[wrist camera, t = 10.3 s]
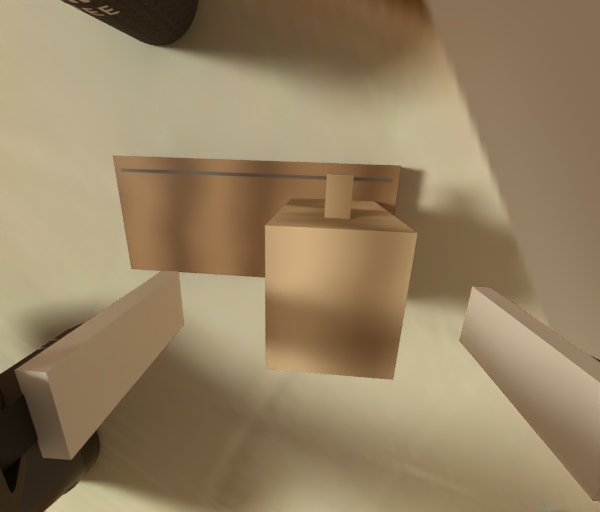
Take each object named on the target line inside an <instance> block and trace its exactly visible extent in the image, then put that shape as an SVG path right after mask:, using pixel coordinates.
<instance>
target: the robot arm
mask: <svg viewBox="0 0 600 512" xmlns="http://www.w3.org/2000/svg"><path fill="white" fill-rule="evenodd" d="M183 325H184V319H183V309H182V300H181V290H180V280H179V271H161V272H159V273H158V274H156V275H155V276H153V277H152V278H150V279H149V280H148V281H146V282H145V283H143V284H142V285H140V286H139V287H137V288H136V289H134V290H133V291H131V292H130V293H128V294H127V295H125V296H124V297H122V298H121V299H119V300H118V301H116V302H115V303H113V304H112V305H110V306H109V307H107V308H106V309H105V310H103V311H102V312H100V313H99V314H97V315H96V316H94V317H93V318H91V319H90V320H88V321H87V322H85V323H82V324H80V325H78V326H75V327H73V328H71V329H69V330H67V331H65V332H64V333H62V334H61V335H59V336H58V337H56V338H55V339H54V340H53V341H50V342H49V343H47V344H45V345H44V346H42V347H41V349H38V350H36V351H35V352H33V353H32V354H30V355H29V356H27V357H26V358H24V359H23V360H21V361H20V362H18V363H17V364H15V365H14V366H12V367H10V368H9V369H7V370H6V371H4V372H3V373H1V374H0V512H44V511H45V510H46V509H47V508H48V507H50V506H51V505H52V504H53V503H54V502H55V501H56V500H57V499H59V498H60V497H61V496H62V495H63V494H65V493H67V492H68V491H70V490H71V489H72V488H74V487H75V486H76V485H77V484H78V483H79V482H80V481H81V480H82V478H83V477H84V476H85V474H86V473H87V472H88V471H89V469H90V468H91V467H92V465H93V464H94V463H95V461H96V459H97V456H98V452H99V442H98V438H97V434H96V432H95V431H96V430H97V428H98V427H99V426H100V425H101V424H102V422H103V421H104V420H105V419H106V418H107V416H108V415H109V414H110V413H111V412H112V410H113V409H114V408H115V407H116V406H117V404H118V403H119V402H120V401H121V400H122V398H123V397H124V396H125V395H126V394H127V392H128V391H129V390H130V389H131V388H132V386H133V385H134V384H135V383H136V382H137V380H138V379H139V378H140V377H141V376H142V374H143V373H144V372H145V371H146V370H147V368H148V367H149V366H150V365H151V364H152V362H153V361H154V360H155V359H156V358H157V356H158V355H159V354H160V353H161V352H162V350H163V349H164V348H165V347H166V346H167V344H168V343H169V342H170V341H171V340H172V338H173V337H174V336H175V335H176V334H177V332H178V331H179V330H180V329H181V328H182V326H183ZM459 341H460V342H461V343H462V344H463V346H464V347H465V348H466V349H467V350H468V352H469V353H470V354H471V355H472V356H473V357H474V359H475V360H476V361H477V362H478V363H479V365H480V366H481V367H482V368H483V369H484V371H485V372H486V373H487V374H488V375H489V377H490V378H491V379H492V380H493V381H494V383H495V384H496V385H497V386H498V387H499V389H500V390H501V391H502V392H503V393H504V395H505V396H506V397H507V398H508V399H509V401H510V402H511V403H512V404H513V405H514V407H515V408H516V409H517V410H518V411H519V413H520V414H521V415H522V416H523V417H524V419H525V420H526V421H527V422H528V423H529V425H530V426H531V427H532V428H533V429H534V431H535V432H536V433H537V434H538V435H539V436H540V438H541V439H542V440H543V441H544V442H545V444H546V445H547V446H548V447H549V448H550V450H551V451H552V452H553V453H554V454H555V456H556V457H557V458H558V459H559V460H560V462H561V463H562V464H563V465H564V466H565V468H566V469H567V470H568V471H569V472H570V474H571V475H572V476H573V477H574V478H575V480H576V481H577V482H578V483H579V484H580V486H581V487H582V488H583V489H584V490H585V492H586V493H587V494H588V495H589V496H590V498H591V499H592V500H593V501H600V360H598V359H596V358H594V357H592V356H590V355H589V354H587V353H586V352H584V351H583V350H581V349H580V348H578V347H577V346H575V345H574V344H572V343H571V342H569V341H568V340H567V339H565V338H564V337H562V336H561V335H559V334H558V333H556V332H555V331H553V330H552V329H550V328H549V327H548V326H546V325H545V324H543V323H542V322H540V321H539V320H537V319H536V318H534V317H533V316H531V315H530V314H528V313H527V312H526V311H524V310H523V309H521V308H520V307H518V306H517V305H515V304H514V303H512V302H511V301H509V300H508V299H506V298H505V297H504V296H502V295H501V294H499V293H498V292H496V291H495V290H493V289H492V288H490V287H473V286H472V290H471V294H470V298H469V302H468V307H467V311H466V315H465V319H464V323H463V328H462V332H461V336H460V340H459Z"/></svg>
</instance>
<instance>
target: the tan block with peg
mask: <svg viewBox="0 0 600 512" xmlns="http://www.w3.org/2000/svg"><path fill="white" fill-rule="evenodd" d="M353 179H354V175H352V174H333V173H327V182H326V198H325V199H309V198H291V199H290V200H289V201H288V202H287V203H286V204H285V205H284V206H283V207H282V208H281V209H280V210H279V211H278V213H277V214H276V215H275V216H274V217H273V218H272V219H271V220H270V221H269V222H268V223H267V224H266V225H265V319H266V369H273V370H285V371H297V372H309V373H321V374H332V375H344V376H356V377H368V378H380V379H392V380H393V377H394V371H395V365H396V359H397V353H398V347H399V341H400V335H401V329H402V323H403V317H404V312H405V306H406V300H407V294H408V288H409V282H410V276H411V270H412V264H413V258H414V252H415V246H416V240H417V234H418V233H417V232H416V231H414V230H413V229H411V228H410V227H409V226H407V225H406V224H405V223H403V222H402V221H400V220H399V219H398V218H396V217H395V216H394V215H392V214H391V213H389V212H388V211H387V210H385V209H384V208H383V207H381V206H380V205H378V204H377V203H376V202H374V201H355V200H352V190H353Z"/></svg>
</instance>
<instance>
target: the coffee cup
mask: <svg viewBox="0 0 600 512" xmlns="http://www.w3.org/2000/svg"><path fill="white" fill-rule="evenodd" d="M61 1H63V2H65V3H67V4H69V5H71V6H73V7H75V8H77V9H79V10H81V11H83V12H85V13H87V14H89V15H90V16H92V17H94V18H96V19H98V20H100V21H102V22H104V23H106V24H108V25H110V26H112V27H114V28H116V29H118V30H120V31H122V32H124V33H126V34H128V35H129V36H131V37H133V38H135V39H137V40H139V41H141V42H144V43H147V44H151V45H165V44H169V43H171V42H174V41H175V40H177V39H178V38H180V37H181V36H182V35H183V34H184V33H185V32H186V31H187V29H188V28H189V26H190V25H191V23H192V21H193V18H194V16H195V12H196V8H197V2H198V0H61Z"/></svg>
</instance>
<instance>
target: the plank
mask: <svg viewBox="0 0 600 512" xmlns="http://www.w3.org/2000/svg"><path fill="white" fill-rule="evenodd" d="M113 159H114V165H115V172H116V178H117V184H118V190H119V196H120V202H121V208H122V214H123V221H124V227H125V233H126V239H127V245H128V251H129V257H130V263H131V269H141V270H156V271H179V272H188V273H204V274H220V275H236V276H252V277H265V225H266V224H267V223H268V222H269V221H270V220H271V219H272V218H273V217H274V216H275V215H276V214H277V213H278V211H279V210H280V209H281V208H282V207H283V206H284V205H285V204H286V203H287V202H288V201H289V200H290V199H291V198H309V199H325V198H326V182H327V173H333V174H352V175H354V179H353V190H352V200H355V201H374V202H376V203H377V204H378V205H380V206H381V207H383V208H384V209H385V210H387V211H388V212H389V213H391V214H392V215H394V213H395V205H396V198H397V191H398V184H399V177H400V169H401V166H393V165H364V164H336V163H307V162H279V161H250V160H222V159H193V158H165V157H136V156H113Z"/></svg>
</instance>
